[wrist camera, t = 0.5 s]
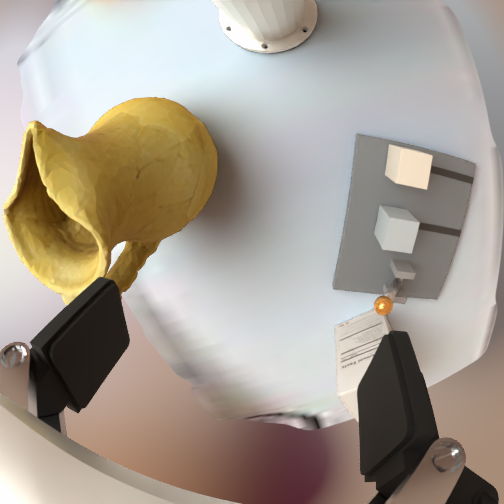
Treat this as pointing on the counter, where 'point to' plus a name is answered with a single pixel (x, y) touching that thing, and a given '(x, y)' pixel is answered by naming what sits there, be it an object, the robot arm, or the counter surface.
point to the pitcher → (108, 193)
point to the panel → (419, 205)
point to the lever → (387, 298)
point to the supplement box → (357, 353)
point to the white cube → (396, 229)
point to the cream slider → (408, 166)
